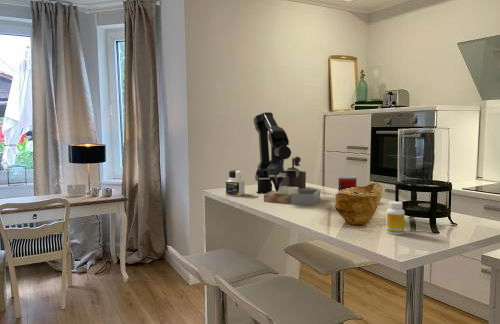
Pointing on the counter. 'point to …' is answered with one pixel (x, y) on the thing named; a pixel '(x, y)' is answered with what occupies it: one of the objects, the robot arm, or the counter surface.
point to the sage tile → (283, 190)
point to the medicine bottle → (235, 184)
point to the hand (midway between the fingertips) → (277, 191)
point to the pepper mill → (295, 181)
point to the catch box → (306, 197)
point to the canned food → (346, 182)
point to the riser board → (277, 197)
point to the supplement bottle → (395, 218)
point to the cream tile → (292, 190)
